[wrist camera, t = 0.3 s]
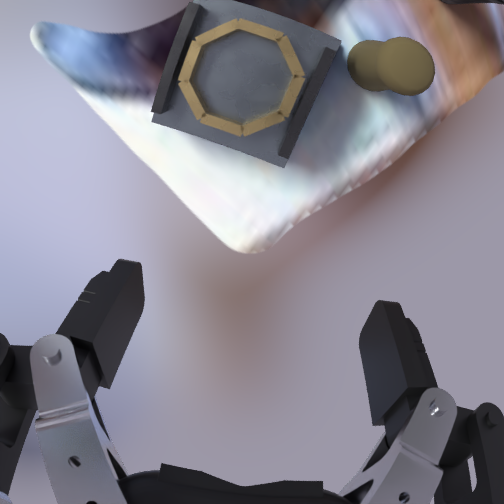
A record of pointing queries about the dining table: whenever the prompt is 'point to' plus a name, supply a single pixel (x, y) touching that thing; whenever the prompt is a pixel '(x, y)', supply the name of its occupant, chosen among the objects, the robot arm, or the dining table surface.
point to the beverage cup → (472, 1)
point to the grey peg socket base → (243, 77)
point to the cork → (392, 66)
